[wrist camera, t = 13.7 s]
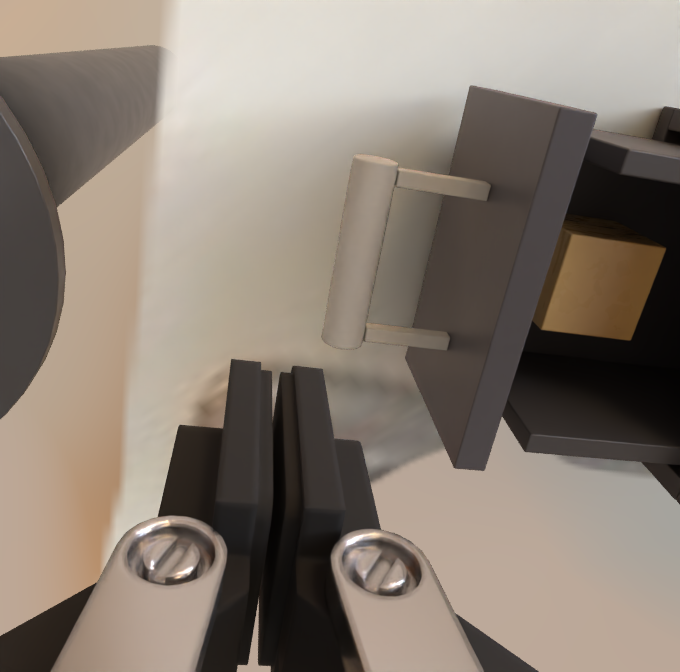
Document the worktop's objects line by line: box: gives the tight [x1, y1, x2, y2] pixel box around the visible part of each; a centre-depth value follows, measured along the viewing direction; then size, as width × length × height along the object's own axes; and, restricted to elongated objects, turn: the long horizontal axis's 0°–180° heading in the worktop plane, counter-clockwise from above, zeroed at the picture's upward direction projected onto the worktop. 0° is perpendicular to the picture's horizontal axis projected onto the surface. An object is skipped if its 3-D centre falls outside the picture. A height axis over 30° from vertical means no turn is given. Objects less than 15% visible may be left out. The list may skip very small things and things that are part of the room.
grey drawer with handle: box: [322, 86, 680, 471], centre depth 26 cm, size 20×13×9 cm, turn 80°
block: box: [532, 214, 666, 341], centre depth 27 cm, size 4×4×4 cm
